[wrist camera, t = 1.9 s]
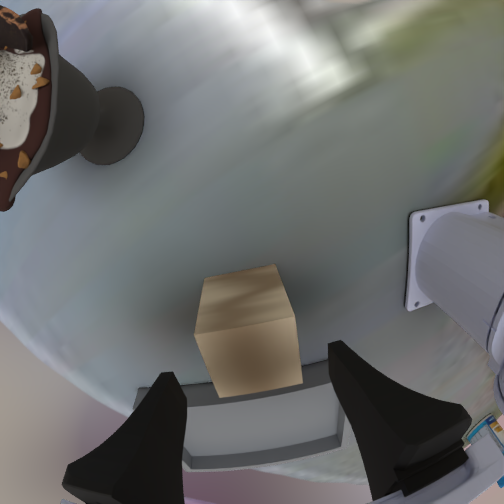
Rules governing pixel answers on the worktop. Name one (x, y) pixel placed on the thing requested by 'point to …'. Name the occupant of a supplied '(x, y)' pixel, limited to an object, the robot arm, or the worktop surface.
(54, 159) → the sundae
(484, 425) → the beverage bottle
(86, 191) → the worktop surface
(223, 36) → the worktop surface
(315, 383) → the tray
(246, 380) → the block
